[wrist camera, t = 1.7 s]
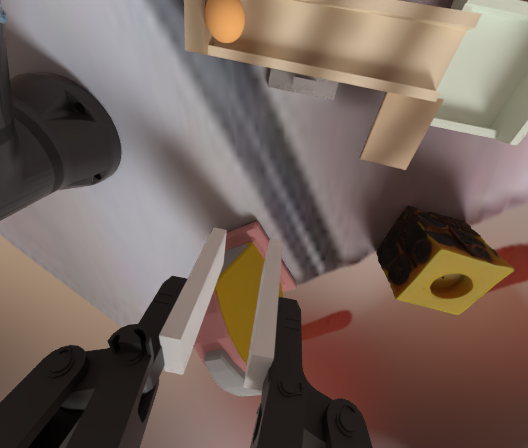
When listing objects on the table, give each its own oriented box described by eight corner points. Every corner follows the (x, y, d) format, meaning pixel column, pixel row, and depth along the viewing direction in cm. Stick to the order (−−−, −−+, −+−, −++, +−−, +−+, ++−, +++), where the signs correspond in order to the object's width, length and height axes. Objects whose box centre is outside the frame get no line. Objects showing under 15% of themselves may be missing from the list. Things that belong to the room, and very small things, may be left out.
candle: (406, 204, 35) (440, 246, 27) (468, 221, 36) (520, 267, 28) (373, 253, 41) (392, 299, 33) (427, 267, 42) (459, 317, 33)
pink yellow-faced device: (205, 225, 42) (138, 343, 24) (250, 206, 39) (211, 326, 21) (263, 301, 52) (246, 423, 34) (302, 291, 49) (306, 421, 31)
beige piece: (203, 116, 30) (186, 122, 27) (205, -22, 23) (183, -38, 20) (401, 164, 27) (411, 177, 24) (475, 23, 20) (503, 13, 17)
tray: (399, 116, 29) (417, 125, 25) (454, -2, 23) (489, -17, 19) (485, 134, 29) (517, 145, 25) (563, 20, 23) (622, 10, 19)
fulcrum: (268, 86, 29) (262, 90, 24) (286, -30, 23) (283, -58, 18) (332, 99, 29) (340, 106, 24) (366, -14, 23) (386, -37, 18)
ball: (218, 42, 24) (195, 36, 21) (220, -6, 22) (195, -19, 19) (249, 48, 23) (229, 43, 20) (254, -1, 21) (233, -15, 18)
